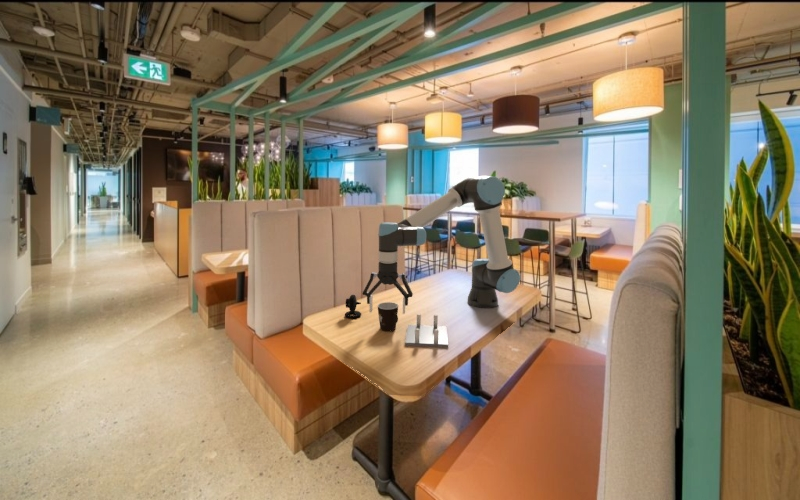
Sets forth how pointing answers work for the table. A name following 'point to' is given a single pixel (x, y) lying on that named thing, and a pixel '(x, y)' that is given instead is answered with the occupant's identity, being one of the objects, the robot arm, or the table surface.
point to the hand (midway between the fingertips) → (387, 312)
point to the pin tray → (426, 334)
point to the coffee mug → (388, 316)
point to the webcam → (352, 307)
